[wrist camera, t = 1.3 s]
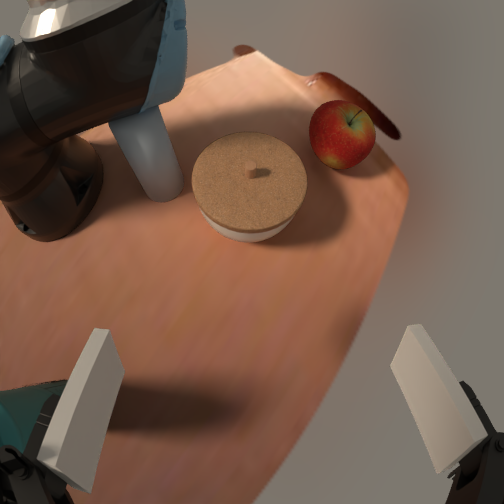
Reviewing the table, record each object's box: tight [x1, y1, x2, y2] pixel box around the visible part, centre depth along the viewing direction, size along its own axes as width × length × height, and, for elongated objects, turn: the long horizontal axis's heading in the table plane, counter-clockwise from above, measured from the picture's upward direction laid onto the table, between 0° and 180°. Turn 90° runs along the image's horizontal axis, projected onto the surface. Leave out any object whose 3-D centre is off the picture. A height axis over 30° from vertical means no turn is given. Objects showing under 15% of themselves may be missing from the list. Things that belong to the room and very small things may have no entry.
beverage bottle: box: [0, 379, 68, 454], centre depth 16 cm, size 6×7×20 cm
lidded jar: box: [192, 132, 307, 242], centre depth 29 cm, size 11×11×9 cm
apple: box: [309, 100, 376, 169], centre depth 32 cm, size 8×8×10 cm
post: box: [108, 105, 184, 202], centre depth 29 cm, size 5×5×12 cm
